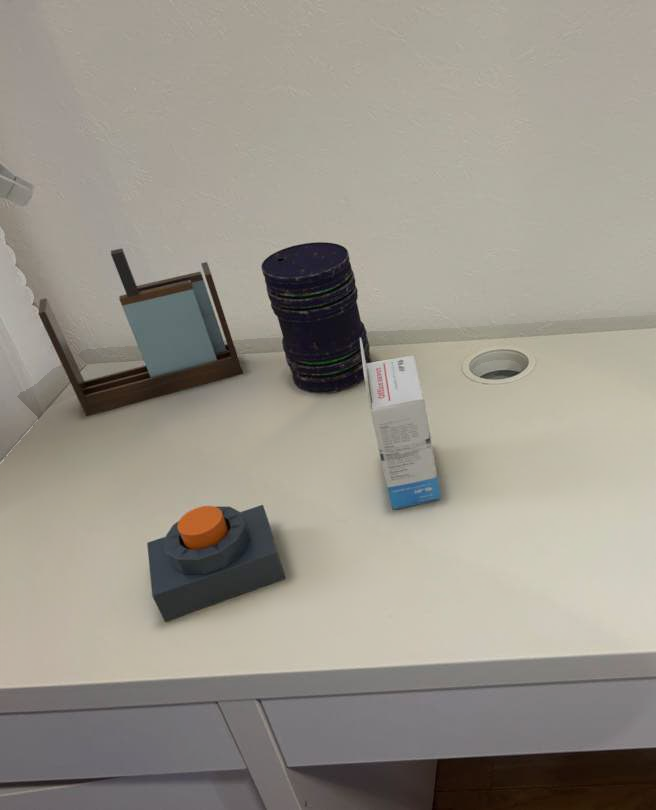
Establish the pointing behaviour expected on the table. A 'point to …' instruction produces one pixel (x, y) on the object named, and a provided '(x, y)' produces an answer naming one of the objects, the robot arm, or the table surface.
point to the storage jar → (317, 315)
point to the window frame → (137, 380)
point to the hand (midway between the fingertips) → (30, 196)
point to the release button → (202, 527)
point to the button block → (214, 564)
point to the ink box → (401, 430)
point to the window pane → (164, 323)
